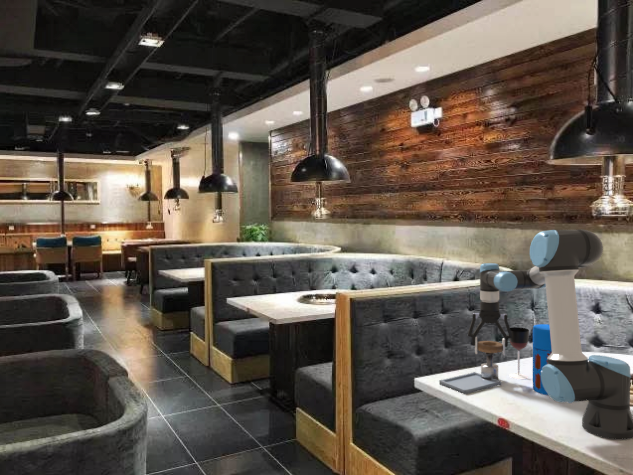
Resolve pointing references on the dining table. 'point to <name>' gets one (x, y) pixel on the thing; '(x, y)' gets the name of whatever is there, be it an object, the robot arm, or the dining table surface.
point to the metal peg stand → (489, 368)
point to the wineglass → (519, 346)
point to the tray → (469, 383)
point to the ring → (490, 346)
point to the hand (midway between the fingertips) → (489, 353)
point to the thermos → (540, 354)
